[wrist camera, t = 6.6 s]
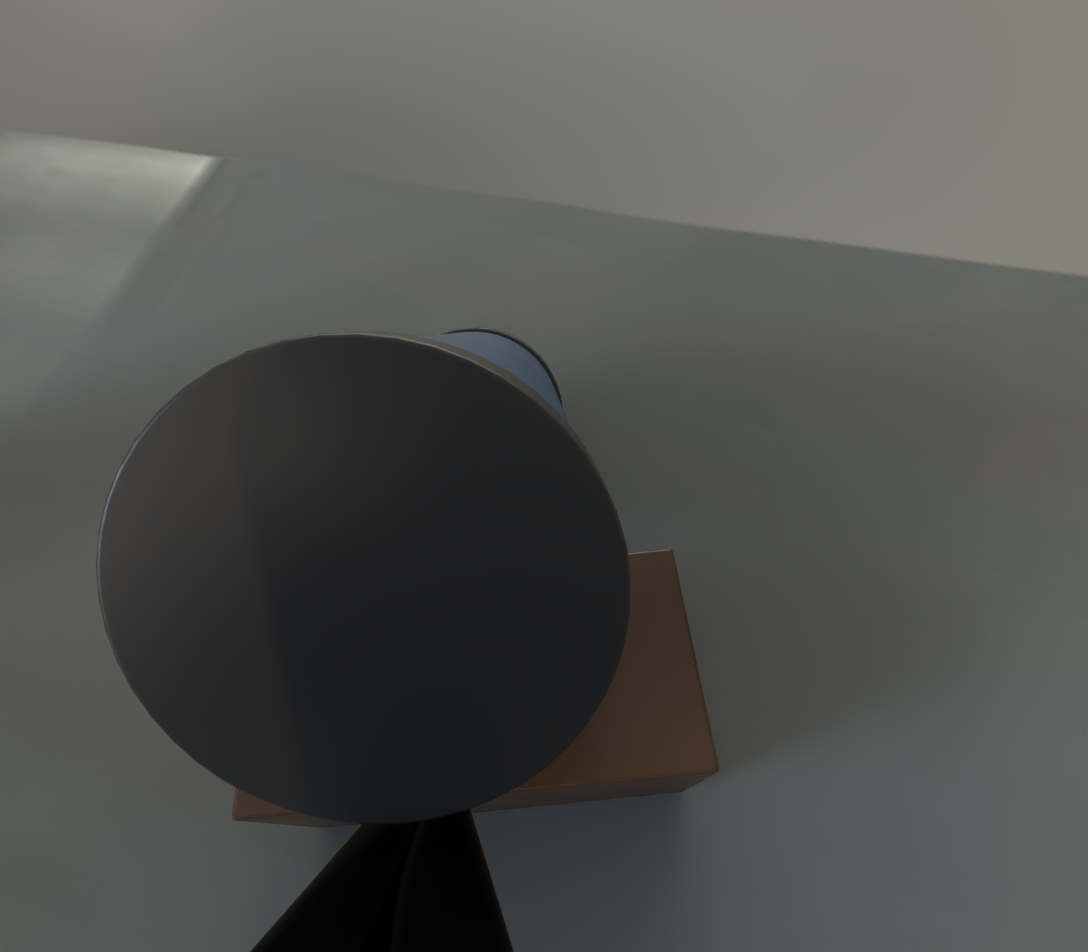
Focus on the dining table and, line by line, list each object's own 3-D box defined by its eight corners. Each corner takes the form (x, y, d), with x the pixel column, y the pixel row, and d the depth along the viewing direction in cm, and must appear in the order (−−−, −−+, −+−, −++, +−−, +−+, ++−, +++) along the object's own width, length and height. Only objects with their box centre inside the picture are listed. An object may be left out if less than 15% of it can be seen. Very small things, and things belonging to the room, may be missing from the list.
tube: (610, 825, 13) (703, 757, 3) (396, 845, 13) (-199, 848, 3) (557, 395, 19) (531, -96, 9) (410, 410, 19) (224, -66, 9)
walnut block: (685, 791, 13) (720, 771, 10) (319, 828, 13) (229, 820, 10) (652, 614, 15) (673, 547, 12) (335, 645, 15) (266, 587, 12)
